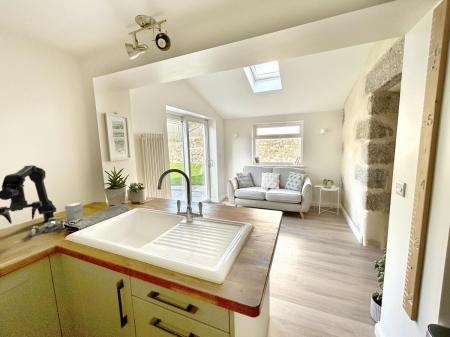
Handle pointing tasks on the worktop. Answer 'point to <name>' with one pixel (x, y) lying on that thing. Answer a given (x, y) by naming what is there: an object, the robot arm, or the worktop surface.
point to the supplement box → (74, 211)
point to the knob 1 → (34, 229)
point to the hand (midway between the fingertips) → (22, 221)
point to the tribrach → (48, 228)
